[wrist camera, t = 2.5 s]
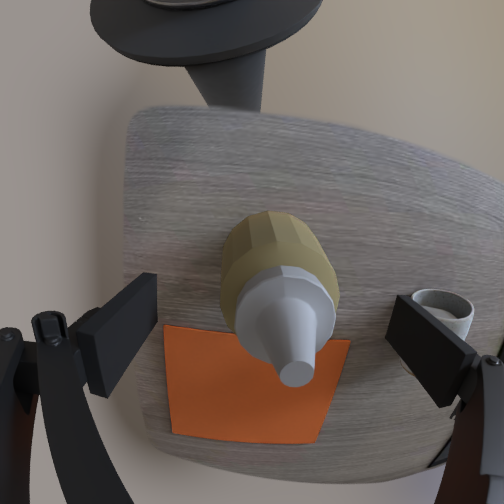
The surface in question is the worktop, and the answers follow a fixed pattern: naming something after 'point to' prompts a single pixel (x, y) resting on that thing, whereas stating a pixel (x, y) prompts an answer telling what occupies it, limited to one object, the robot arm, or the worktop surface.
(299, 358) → the squeeze bottle
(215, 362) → the napkin
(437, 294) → the ceramic mug
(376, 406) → the worktop surface
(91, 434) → the robot arm
